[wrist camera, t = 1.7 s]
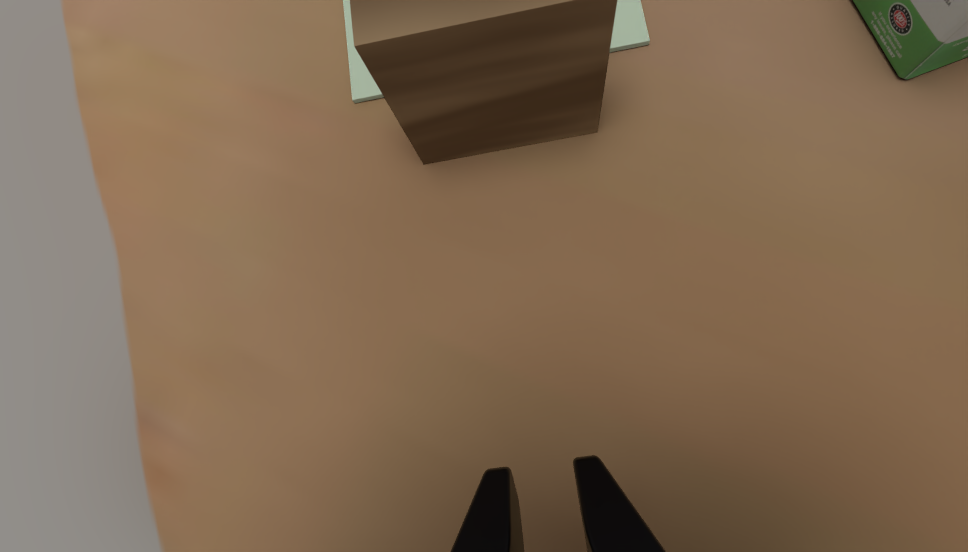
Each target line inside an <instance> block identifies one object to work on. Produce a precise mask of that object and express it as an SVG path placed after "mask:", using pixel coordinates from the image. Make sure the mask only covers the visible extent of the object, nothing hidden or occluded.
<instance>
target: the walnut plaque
mask: <svg viewBox="0 0 968 552" xmlns="http://www.w3.org/2000/svg"><path fill="white" fill-rule="evenodd" d="M616 6H617V0H350V9H351V19H352V30H353V40H354V47H355V49H356V50H357V52H358V54H359V55H360V57H361V59H362V60H363V62H364V64H365V66H366V67H367V69H368V71H369V72H370V74H371V76H372V77H373V79H374V81H375V83H376V84H377V86H378V88H379V89H380V91H381V93H382V94H383V96H384V98H385V100H386V101H387V103H388V105H389V106H390V108H391V110H392V111H393V113H394V115H395V117H396V118H397V120H398V122H399V123H400V125H401V127H402V128H403V130H404V132H405V134H406V135H407V137H408V139H409V140H410V142H411V144H412V145H413V147H414V149H415V151H416V152H417V154H418V156H419V157H420V159H421V161H422V162H423V164H429V163H435V162H440V161H445V160H451V159H456V158H462V157H467V156H472V155H478V154H483V153H489V152H494V151H499V150H505V149H510V148H515V147H521V146H526V145H532V144H537V143H542V142H548V141H553V140H559V139H564V138H569V137H575V136H580V135H586V134H591V133H596V132H597V131H598V124H599V118H600V111H601V105H602V98H603V92H604V85H605V78H606V72H607V65H608V59H609V52H610V46H611V39H612V32H613V26H614V19H615V13H616Z"/></svg>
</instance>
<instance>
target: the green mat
mask: <svg viewBox="0 0 968 552" xmlns="http://www.w3.org/2000/svg"><path fill="white" fill-rule="evenodd" d="M343 5H344V15H345V26H346V37H347V48H348V58H349V69H350V80H351V91H352V100H353V102H354V103H358V102H363V101H368V100H373V99H378V98H383V97H384V96H383V94H382V93H381V91H380V89H379V88H378V86H377V84H376V83H375V81H374V79H373V77H372V76H371V74H370V72H369V71H368V69H367V67H366V66H365V64H364V62H363V60H362V59H361V57H360V55H359V54H358V52H357V50H356V49H355V47H354V40H353V30H352V19H351V9H350V0H343ZM649 42H650V39H649V35H648V31H647V27H646V22H645V18H644V14H643V9H642V5H641V1H640V0H617V6H616V13H615V19H614V26H613V32H612V39H611V46H610V52H615V51H620V50H625V49H630V48H635V47H640V46H645V45H649ZM610 52H609V53H610Z"/></svg>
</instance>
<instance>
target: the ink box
mask: <svg viewBox="0 0 968 552" xmlns="http://www.w3.org/2000/svg"><path fill="white" fill-rule="evenodd" d="M853 2H854V3H855V5H856V6H857V8H858V10H859V11H860V13H861V15H862V16H863V18H864V20H865V22H866V23H867V25H868V26H869V28H870V30H871V31H872V33H873V35H874V36H875V38H876V40H877V41H878V43H879V45H880V46H881V48H882V50H883V51H884V53H885V55H886V56H887V58H888V60H889V61H890V63H891V65H892V66H893V68H894V70H895V71H896V73H897V74H898V76H899V77H900V78H904V79H906V80H907V79H910V78H913V77H916V76H918V75H921V74H923V73H926V72H929V71H931V70H934V69H937V68H939V67H942V66H945V65H947V64H950V63H952V62H955V61H958V60H961V59H963V58H966V57H968V0H853Z"/></svg>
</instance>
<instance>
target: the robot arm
mask: <svg viewBox="0 0 968 552" xmlns="http://www.w3.org/2000/svg"><path fill="white" fill-rule="evenodd" d="M573 466H574V473H575V479H576V485H577V492H578V498H579V504H580V510H581V516H582V521H583V527H584V533H585V539H586V545H587V551H588V552H665V550H664V549H663V547H662V546H661V544H660V543H659V542H658V540H657V539H656V537H655V536H654V535H653V533H652V532H651V530H650V529H649V527H648V526H647V525H646V523H645V522H644V520H643V519H642V518H641V516H640V515H639V513H638V512H637V510H636V509H635V508H634V506H633V505H632V503H631V502H630V501H629V499H628V498H627V496H626V495H625V493H624V492H623V491H622V489H621V488H620V486H619V485H618V484H617V482H616V481H615V479H614V478H613V476H612V475H611V474H610V472H609V471H608V469H607V468H606V467H605V465H604V464H603V462H602V461H601V460H600V458H598V457H597V456H595V455H592V456H584V457H577V458H575V459H574V460H573ZM451 552H524V544H523V535H522V525H521V515H520V507H519V500H518V496H517V492H516V488H515V484H514V480H513V476H512V472H511V470H510V468H509V467H499V468H492V469H488V470H486V471H485V473H484V474H483V477H482V479H481V481H480V484H479V486H478V488H477V491H476V493H475V495H474V498H473V500H472V503H471V505H470V507H469V510H468V512H467V514H466V517H465V519H464V521H463V524H462V526H461V528H460V531H459V533H458V536H457V538H456V540H455V543H454V545H453V547H452V550H451Z"/></svg>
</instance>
